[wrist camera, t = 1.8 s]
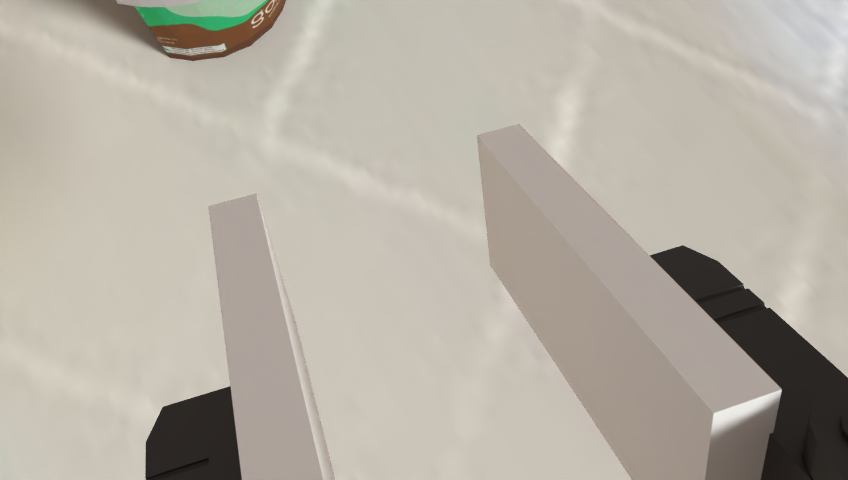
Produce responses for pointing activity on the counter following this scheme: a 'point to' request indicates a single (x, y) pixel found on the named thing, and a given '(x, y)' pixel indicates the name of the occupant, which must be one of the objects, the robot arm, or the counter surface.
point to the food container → (206, 24)
